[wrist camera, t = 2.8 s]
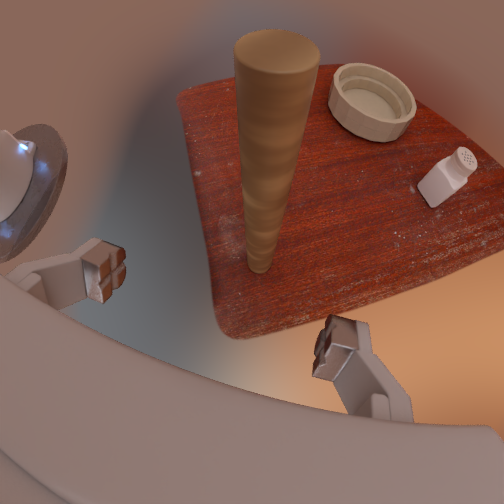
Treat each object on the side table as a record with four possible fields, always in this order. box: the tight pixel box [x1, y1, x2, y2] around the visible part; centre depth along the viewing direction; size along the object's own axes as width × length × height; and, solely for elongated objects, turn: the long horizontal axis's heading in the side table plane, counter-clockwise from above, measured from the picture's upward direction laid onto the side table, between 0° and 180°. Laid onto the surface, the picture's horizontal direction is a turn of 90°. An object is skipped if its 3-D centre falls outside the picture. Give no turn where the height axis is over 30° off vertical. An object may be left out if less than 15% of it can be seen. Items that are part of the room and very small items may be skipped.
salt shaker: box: [417, 147, 477, 208], centre depth 30 cm, size 4×4×10 cm
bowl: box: [328, 63, 417, 142], centre depth 36 cm, size 12×13×5 cm
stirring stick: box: [233, 29, 320, 274], centre depth 20 cm, size 3×3×26 cm
